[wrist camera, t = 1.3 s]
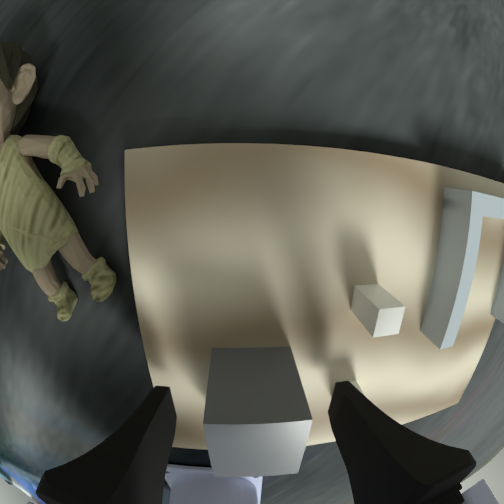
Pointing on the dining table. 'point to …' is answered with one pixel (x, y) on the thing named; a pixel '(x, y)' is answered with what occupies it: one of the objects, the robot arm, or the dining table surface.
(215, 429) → the block
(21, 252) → the figurine
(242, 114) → the dining table surface
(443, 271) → the end holder
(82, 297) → the dining table surface
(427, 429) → the dining table surface
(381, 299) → the twin white cubes
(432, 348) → the board
